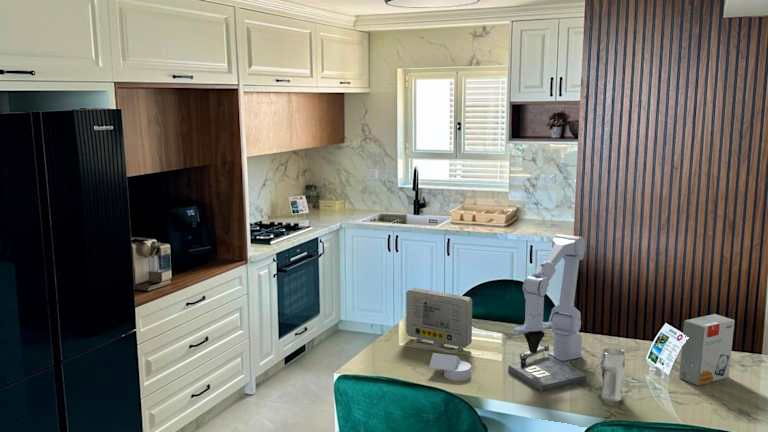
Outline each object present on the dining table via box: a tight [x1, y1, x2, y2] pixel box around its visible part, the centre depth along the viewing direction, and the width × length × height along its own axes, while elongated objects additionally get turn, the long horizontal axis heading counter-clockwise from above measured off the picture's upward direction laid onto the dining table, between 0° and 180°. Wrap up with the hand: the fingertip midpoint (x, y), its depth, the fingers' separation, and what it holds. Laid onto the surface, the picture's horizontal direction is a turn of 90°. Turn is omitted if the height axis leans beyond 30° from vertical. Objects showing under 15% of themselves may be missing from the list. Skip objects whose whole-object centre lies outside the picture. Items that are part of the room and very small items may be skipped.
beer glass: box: [600, 347, 626, 403], centre depth 205 cm, size 7×7×15 cm
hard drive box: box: [678, 313, 735, 386], centre depth 218 cm, size 16×8×20 cm, turn 117°
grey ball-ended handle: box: [519, 343, 550, 361], centre depth 229 cm, size 14×2×2 cm, turn 130°
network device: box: [405, 287, 473, 354], centre depth 249 cm, size 26×9×20 cm, turn 58°
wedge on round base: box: [428, 352, 472, 382], centre depth 224 cm, size 9×7×13 cm
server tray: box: [507, 355, 588, 394], centre depth 221 cm, size 18×18×4 cm
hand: (533, 352), depth 220 cm, fingers closed
